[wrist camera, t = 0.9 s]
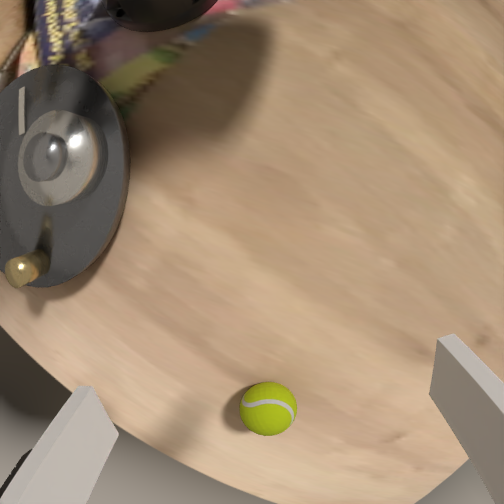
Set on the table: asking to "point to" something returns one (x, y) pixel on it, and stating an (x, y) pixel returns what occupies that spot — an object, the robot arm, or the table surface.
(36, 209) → the turntable
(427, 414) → the table surface
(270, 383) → the tennis ball
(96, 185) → the cover
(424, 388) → the table surface
